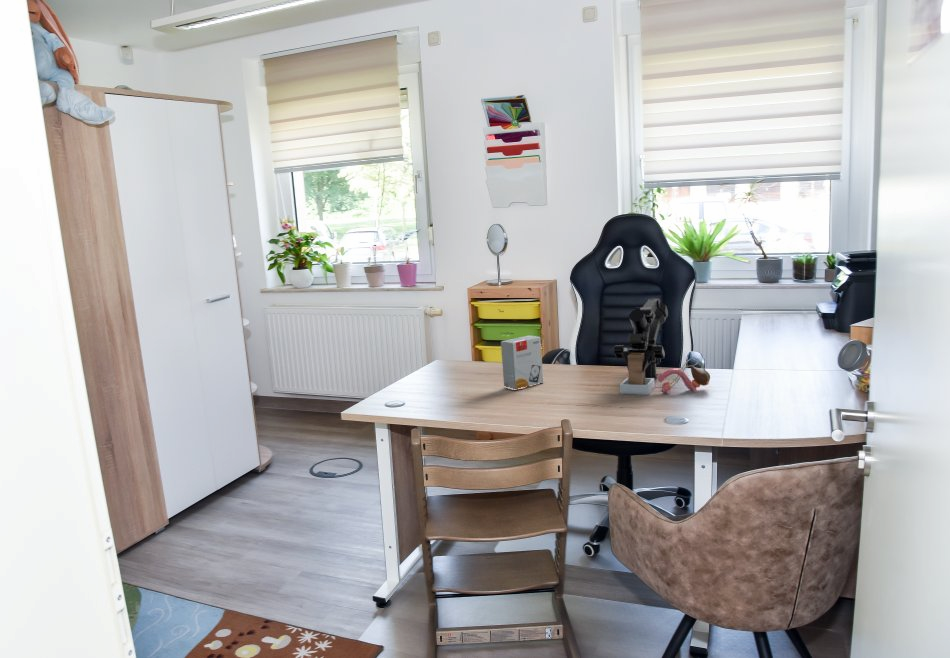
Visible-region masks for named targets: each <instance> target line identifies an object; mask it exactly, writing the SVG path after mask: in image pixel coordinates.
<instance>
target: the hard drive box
mask: <svg viewBox="0 0 950 658" xmlns="http://www.w3.org/2000/svg"><path fill="white" fill-rule="evenodd" d="M541 339H542V338H541V336H538V335H537V336H535V335H524V336H520V337H515V338H511V339H506V340H502V341H500V350H501V362H502V363H501V364H502V374H503V376H502V377H503V387H504V386H506V387H510V388H513V389H518V388H521V387H526V386H530V385H534V384H538V383H542V382H543V383H544V374H543V357H542V344H541V343H542V341H541Z"/></svg>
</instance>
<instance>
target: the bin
mask: <svg viewBox="0 0 950 658" xmlns="http://www.w3.org/2000/svg"><path fill="white" fill-rule="evenodd" d="M645 381H646V385H629V377H626V378H624V380H623V381H622V382H621V383H620V384H619V391H620V395H638V396H639V395H641V396H642V395H643V396H645V395H646V396H649V395H650V394H651V393H652V391H653V390H654V389H655V386H656V385H655V384H656V383H655V379H654V378H645Z"/></svg>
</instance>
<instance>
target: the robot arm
mask: <svg viewBox="0 0 950 658" xmlns="http://www.w3.org/2000/svg"><path fill="white" fill-rule="evenodd" d="M668 316H669V311H668V306H667V305H666V304H665V303H664V302H662V301H661V299H659V298H648V299H646V302H645V303H644V305H643V306H642V307H635V308H634V310H632V311H631V312H630V313H629V314H628V319H629V321H630V323H631V327H632V328H633V333H629V334H628V343H629V347H630V348H628V347H625V345H624V344H622V345H621V344H619V345H614V346H613V347H612V352H613V355H614V357H615V358H616V359H623V361H625V364H626V367H627V368H626V369H628V355H629V354H630V353H644V363H643V369H642V371H643V372H644V371H645V378H654V380H656V379H658V376H659V374H660V373H657V365H658V364H660V363H661V360H662V359H663V360H664V359H665V355H666V353H665V350H664V347H663V345H660V344H659V345H658V344H657V343H656V342H657V338H658V334H659V331H660V326H661V325H662V324H664V323H665V322H666V319H667V318H668Z"/></svg>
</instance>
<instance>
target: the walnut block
mask: <svg viewBox="0 0 950 658" xmlns="http://www.w3.org/2000/svg"><path fill="white" fill-rule="evenodd" d="M643 363H644V353H630V354H629V355H628V368H627V371H628V372H627V373H628V378H629V385H646V381H645V371H644V372H643V371H642V369H643Z"/></svg>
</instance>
